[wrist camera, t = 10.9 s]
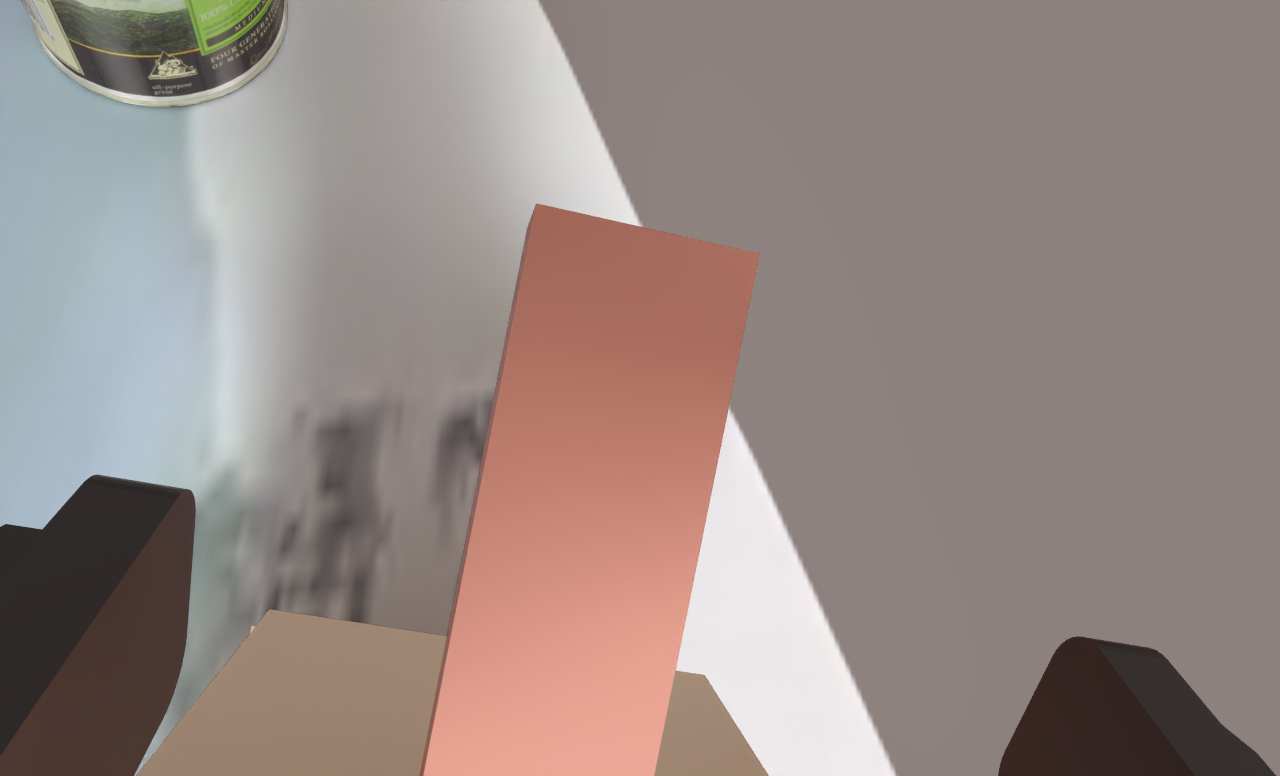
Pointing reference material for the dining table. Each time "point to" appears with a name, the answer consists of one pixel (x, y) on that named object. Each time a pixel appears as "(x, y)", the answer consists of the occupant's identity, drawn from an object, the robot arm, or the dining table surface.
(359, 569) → the dining table surface
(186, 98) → the coffee can
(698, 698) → the flap
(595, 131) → the dining table surface
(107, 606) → the robot arm
